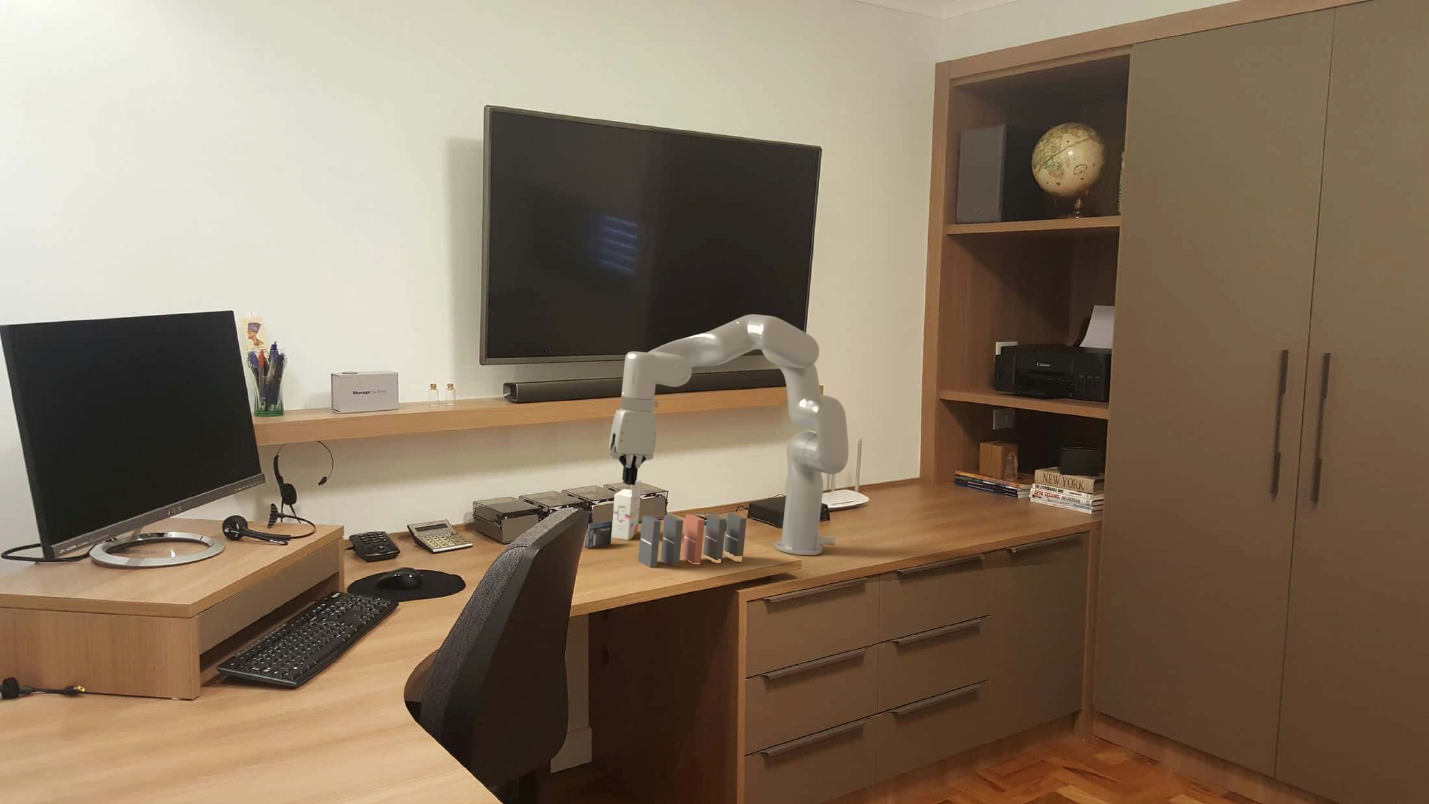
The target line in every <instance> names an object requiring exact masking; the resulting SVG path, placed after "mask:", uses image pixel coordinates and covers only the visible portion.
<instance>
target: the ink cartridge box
mask: <svg viewBox="0 0 1429 804" xmlns="http://www.w3.org/2000/svg"><path fill="white" fill-rule="evenodd" d="M641 484H642V482H641V480H638V481H637V480H636V482H635V485H631V489H626V488H623V489H622V490H619V491H618V492H617V493H615V494H614V499H613V514H612V515H613V516H612V535H611V539H616V540H617V539H618V540H624V541H629V540H630V539H632V538H634V537H635V536H636V535H637V534H638V530H639V529H638V527H639V517H640V505H641V495H642V494H641V493H642V490H641V489H642V488H641V487H642V485H641ZM636 487H637V488H636ZM636 533H637V534H636ZM634 535H635V536H634Z"/></svg>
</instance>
